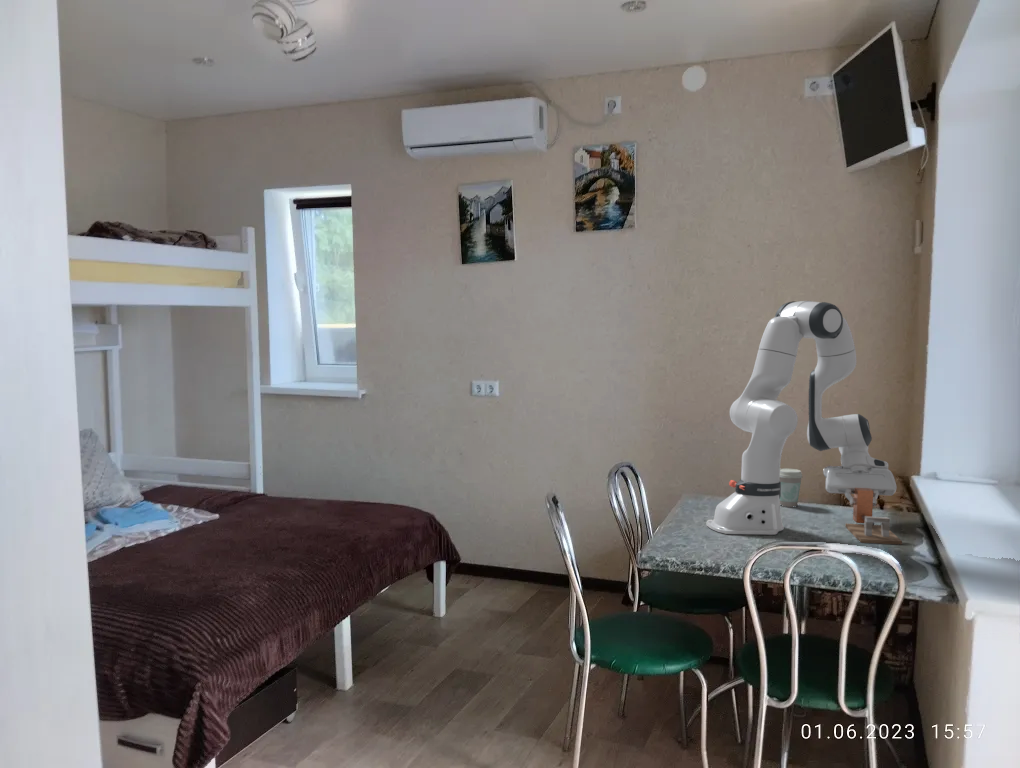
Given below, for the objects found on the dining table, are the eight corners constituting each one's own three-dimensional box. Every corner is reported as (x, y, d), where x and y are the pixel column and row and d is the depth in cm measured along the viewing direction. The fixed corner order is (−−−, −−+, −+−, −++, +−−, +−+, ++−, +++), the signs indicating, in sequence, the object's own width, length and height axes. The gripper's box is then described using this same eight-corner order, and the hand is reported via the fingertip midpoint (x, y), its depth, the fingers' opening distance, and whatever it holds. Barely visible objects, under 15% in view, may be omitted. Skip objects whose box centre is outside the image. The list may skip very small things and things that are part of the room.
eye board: (845, 526, 248) (846, 506, 248) (883, 528, 246) (884, 508, 246) (860, 542, 231) (861, 520, 230) (902, 544, 229) (903, 522, 228)
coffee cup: (772, 506, 275) (773, 471, 274) (777, 501, 282) (778, 467, 282) (799, 509, 271) (800, 473, 270) (803, 504, 278) (804, 469, 278)
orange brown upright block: (852, 519, 253) (854, 487, 252) (868, 520, 252) (869, 488, 251) (863, 529, 241) (864, 495, 240) (879, 530, 240) (880, 496, 239)
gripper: (824, 460, 257) (829, 497, 249) (893, 462, 254) (901, 500, 245) (820, 471, 262) (825, 508, 253) (888, 474, 259) (896, 511, 250)
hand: (863, 504), depth 249 cm, fingers closed on orange brown upright block, 4 cm apart
